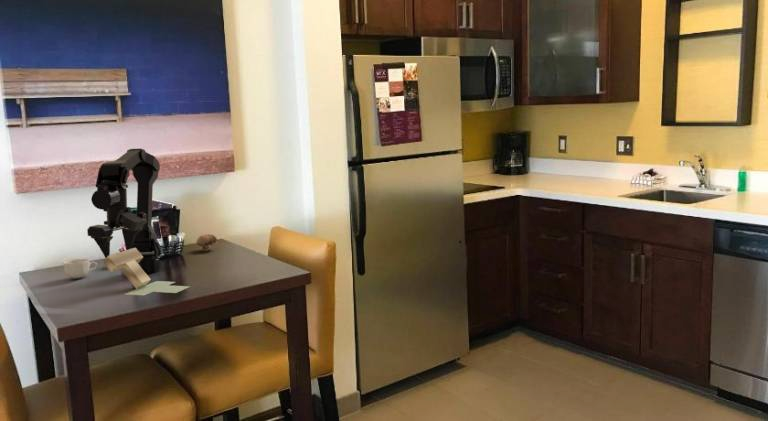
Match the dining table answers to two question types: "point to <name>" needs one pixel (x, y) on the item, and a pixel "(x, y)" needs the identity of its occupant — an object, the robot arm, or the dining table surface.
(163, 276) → the dining table surface
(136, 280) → the t block
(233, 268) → the dining table surface
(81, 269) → the teacup
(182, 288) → the pad
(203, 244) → the mushroom
